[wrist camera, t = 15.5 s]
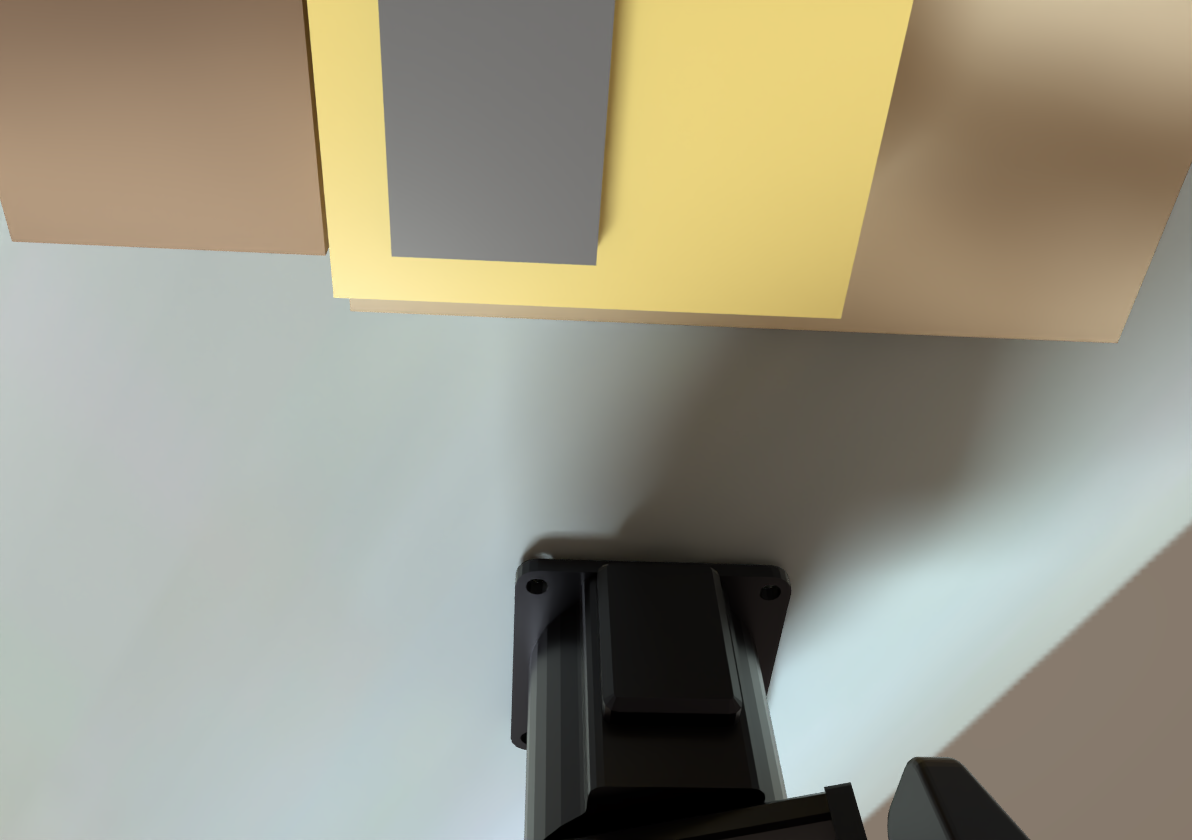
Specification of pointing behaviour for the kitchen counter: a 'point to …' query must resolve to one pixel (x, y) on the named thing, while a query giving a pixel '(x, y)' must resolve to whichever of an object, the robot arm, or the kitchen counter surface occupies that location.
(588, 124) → the block
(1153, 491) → the kitchen counter surface
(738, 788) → the robot arm
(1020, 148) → the subfloor panel
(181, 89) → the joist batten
